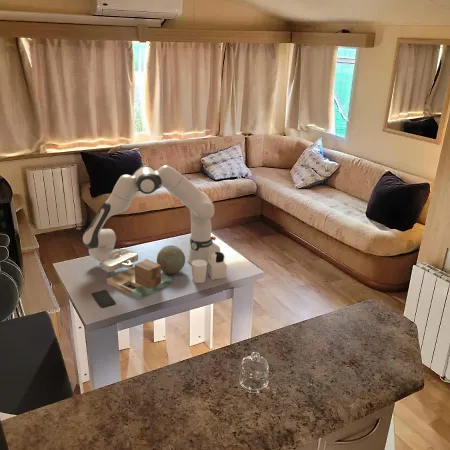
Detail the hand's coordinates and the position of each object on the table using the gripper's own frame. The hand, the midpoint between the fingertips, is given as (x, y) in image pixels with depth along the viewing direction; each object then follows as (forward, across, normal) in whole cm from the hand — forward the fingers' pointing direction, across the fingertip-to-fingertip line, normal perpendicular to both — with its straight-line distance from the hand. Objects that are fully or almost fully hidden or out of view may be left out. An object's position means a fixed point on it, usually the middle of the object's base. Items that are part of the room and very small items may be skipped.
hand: (131, 266), depth 237 cm
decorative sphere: (+10, +19, +8) cm, 23 cm away
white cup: (+27, +22, +8) cm, 36 cm away
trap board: (+6, 0, +8) cm, 10 cm away
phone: (+4, -22, +8) cm, 24 cm away
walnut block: (+12, 0, +5) cm, 13 cm away
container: (+31, +32, +8) cm, 45 cm away
